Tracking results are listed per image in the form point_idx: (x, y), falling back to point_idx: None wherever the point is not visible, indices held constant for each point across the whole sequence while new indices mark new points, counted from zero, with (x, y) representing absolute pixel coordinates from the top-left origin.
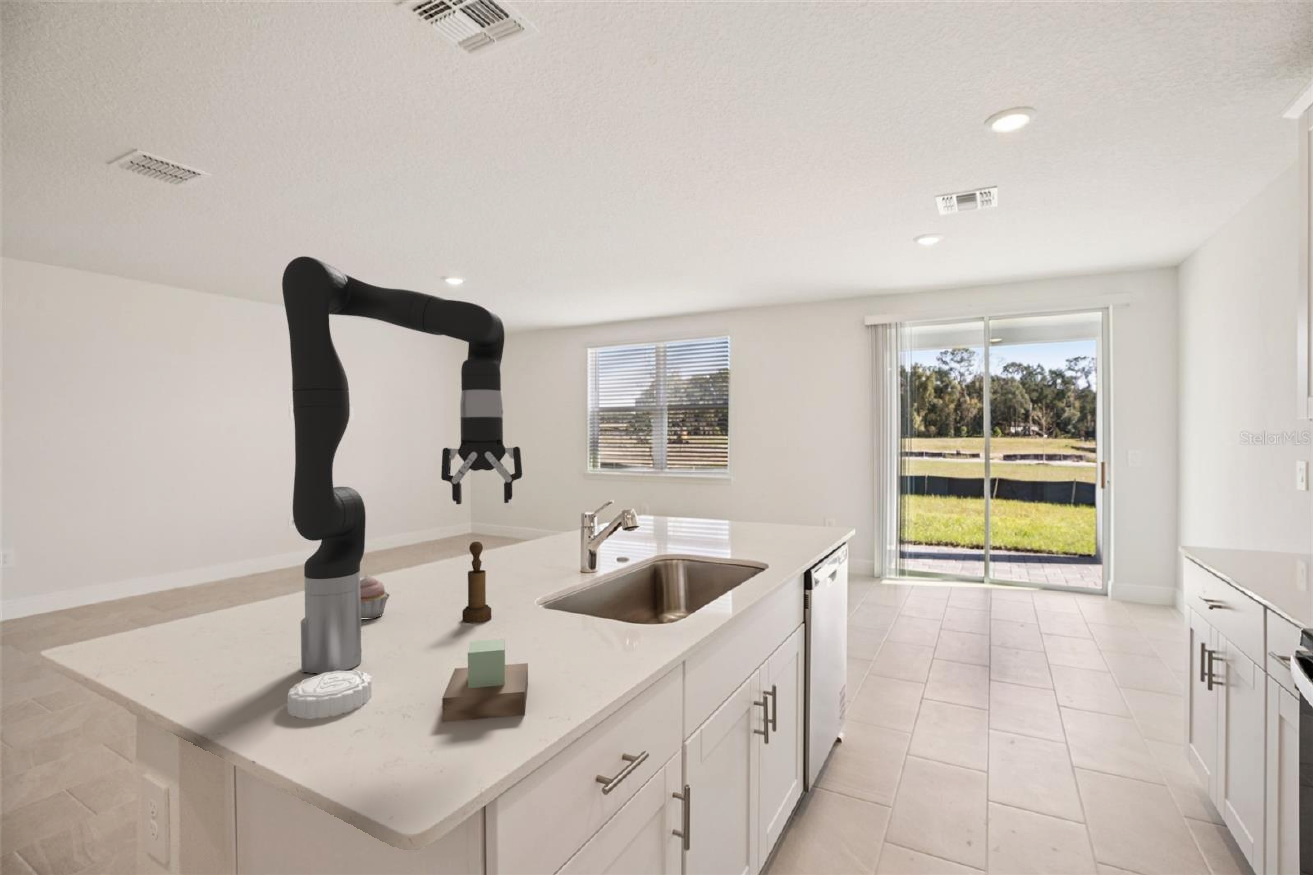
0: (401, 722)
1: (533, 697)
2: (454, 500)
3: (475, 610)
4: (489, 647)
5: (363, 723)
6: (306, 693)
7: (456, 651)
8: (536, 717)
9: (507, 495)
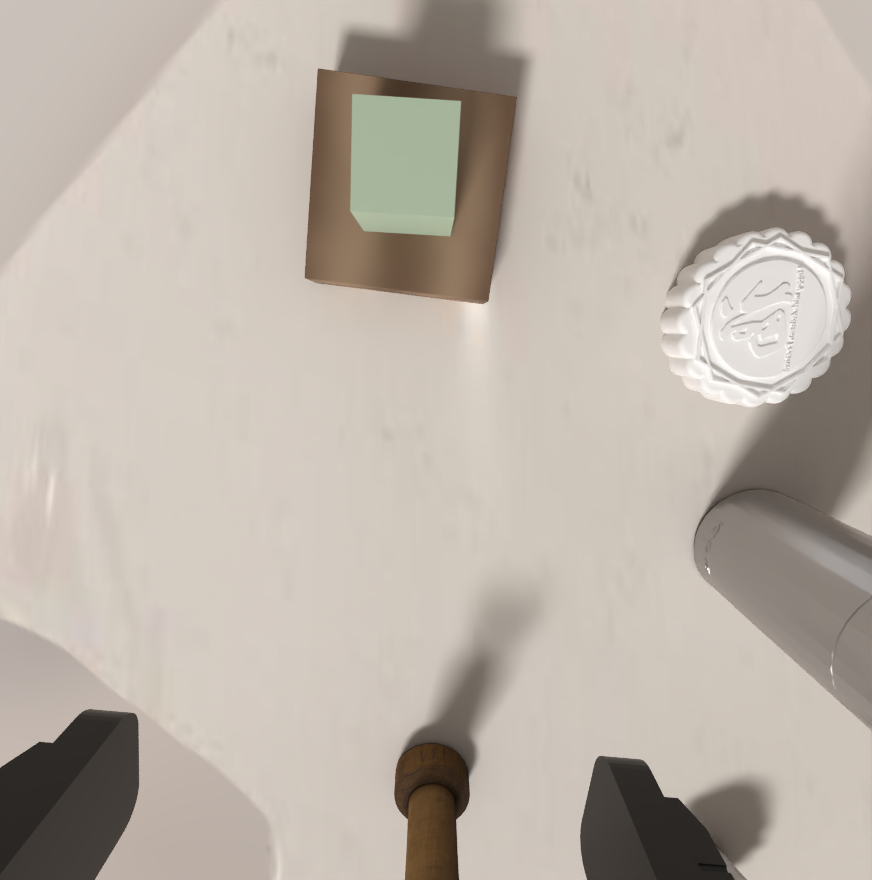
0: (592, 152)
1: (306, 194)
2: (671, 804)
3: (436, 775)
4: (397, 135)
5: (668, 175)
6: (817, 262)
7: (481, 553)
8: (304, 72)
9: (34, 769)
